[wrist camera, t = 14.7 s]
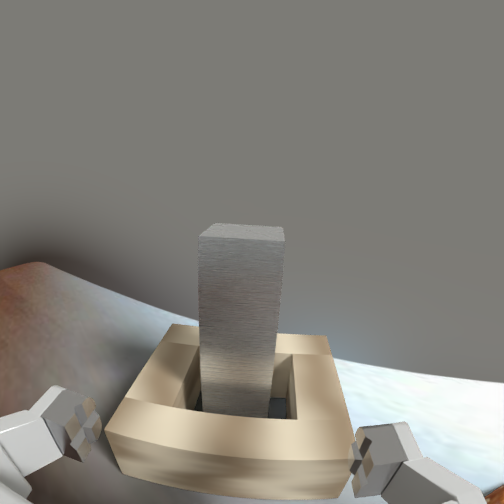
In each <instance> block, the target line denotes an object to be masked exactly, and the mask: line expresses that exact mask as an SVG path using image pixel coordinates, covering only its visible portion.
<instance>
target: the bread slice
mask: <svg viewBox="0 0 504 504" xmlns="http://www.w3.org/2000/svg"><path fill="white" fill-rule="evenodd" d="M484 498H485V500H486V502H487V504H504V485H503V486H501V487H499V488H497V489H496V490H494V491H493V492H492V493H490V494H489V495H487V496H485V497H484Z"/></svg>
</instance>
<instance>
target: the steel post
mask: <svg viewBox="0 0 504 504" xmlns="http://www.w3.org/2000/svg"><path fill="white" fill-rule="evenodd" d="M198 249H199V250H198V251H199V252H198V258H199V259H198V293H199V342H200V369H201V389H202V406H203V412H206V413H214V414H222V415H231V416H241V417H252V418H267V419H268V410H269V402H270V394H271V385H272V376H273V367H274V358H275V349H276V339H277V329H278V318H279V308H280V297H281V286H282V275H283V262H284V250H285V238H284V232H283V227H270V226H254V225H238V224H221V223H214V224H213V225H212V226H210V227H209V228H208V229H207V230H205V231H204V232H203V233H202V234H200V235H199V247H198Z"/></svg>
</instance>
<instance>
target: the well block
mask: <svg viewBox="0 0 504 504" xmlns="http://www.w3.org/2000/svg"><path fill="white" fill-rule="evenodd" d="M200 390H201V391H202V389H201V369H200V342H199V327H196V326H188V325H180V324H172V325H171V326H170V328H169V329H168V331H167V332H166V334H165V335H164V337H163V339H162V340H161V342H160V343H159V345H158V346H157V348H156V349H155V351H154V352H153V354H152V355H151V357H150V358H149V360H148V361H147V363H146V364H145V366H144V368H143V369H142V371H141V372H140V374H139V375H138V377H137V378H136V380H135V381H134V383H133V385H132V386H131V388H130V389H129V391H128V392H127V394H126V396H125V397H124V399H123V400H122V402H121V403H120V405H119V407H118V408H117V410H116V411H115V413H114V414H113V416H112V418H111V419H110V421H109V422H108V424H107V426H106V427H105V429H104V431H105V433H106V436H107V439H108V441H109V444H110V446H111V448H112V451H113V453H114V455H115V458H116V460H117V462H118V465H119V467H120V469H121V471H122V473H123V474H125V475H128V476H131V477H135V478H138V479H142V480H146V481H149V482H153V483H157V484H161V485H166V486H170V487H175V488H180V489H185V490H190V491H196V492H201V493H208V494H215V495H222V496H231V497H241V498H254V499H274V500H310V499H330V498H338V497H339V495H340V493H341V492H342V490H343V488H344V486H345V485H346V483H347V481H348V479H349V477H350V475H351V472H350V471H349V467H348V453H349V449H350V446H351V444H352V443H354V442H355V437H354V433H353V429H352V425H351V422H350V418H349V414H348V410H347V407H346V403H345V399H344V396H343V392H342V388H341V385H340V381H339V378H338V374H337V371H336V367H335V364H334V360H333V357H332V354H331V350H330V347H329V344H328V340H327V337H326V336H320V335H296V334H278V333H277V339H276V349H275V358H274V367H273V376H272V385H271V394H270V397H274V398H286V419H267V418H252V417H241V416H231V415H222V414H214V413H206V412H199V411H194V408H195V405H196V402H197V399H198V396H199V393H200Z"/></svg>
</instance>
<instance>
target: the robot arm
mask: <svg viewBox="0 0 504 504" xmlns="http://www.w3.org/2000/svg"><path fill="white" fill-rule="evenodd" d="M95 407H96V405H95V402H94V399H92V398H90V397H88V396H85V395H82V394H79V393H76V392H73V391H71V390H68V389H65V388H62V387H60V386H57V385H55V386H52V387H51V388H50V389H49V390H48V391H47V392H46V393H45V394H44V395H43V396H42V397H41V398H40V399H39V400H38V401H37V402H36V404H35V405H34V406H33V407H32V408H31V409H30V410H29V411H27V410H23V411H20V412H17V413H14V414H10V415H7V416H4V417H1V418H0V504H33V503H31V502H30V501H28V500H27V499H26V498H27V497H28V495H29V494H30V492H31V491H32V488H31V485H30V484H29V483H28V482H27V481H26V479H25V478H24V477H25V476H27V475H29V474H31V473H32V472H34V471H36V470H38V469H40V468H42V467H44V466H46V465H47V464H49V463H51V462H53V461H55V460H56V459H58V458H60V457H62V456H63V455H64V456H67V457H69V458H72V459H74V460H77V461H80V462H82V463H83V462H84V461H85V459H86V457H87V456H88V454H89V452H90V451H91V446H90V444H91V443H93V442H95V441H97V439H98V438H99V436H100V433H101V429H102V424H101V419H100V416H99V415H98V414H97V413H96V412H95V411H94V409H95ZM355 437H356V441H355V442H354V443H352V444H351V446H350V449H349V453H348V467H349V471H350V472H351V473H352V474H354V475H355V476H354V478H353V480H352V487H353V492H354V497H355V498H359V497H368V496H375V495H381V497H382V498H383V499H384V500H385V501H386V502H387V503H388V504H487V502H486V500H485V498H484V496H483V494H482V492H481V490H480V488H478V487H476V486H475V485H473V484H471V483H470V482H468V481H466V480H464V479H463V478H461V477H459V476H458V475H456V474H454V473H453V472H451V471H449V470H448V469H446V468H444V467H443V466H441V465H440V464H438V463H436V462H435V461H433V460H432V459H430V458H428V457H425V458H423V456H422V453H421V451H420V449H419V447H418V445H417V442H416V440H415V438H414V436H413V434H412V432H411V430H410V427H409V425H408V423H406V422H399V423H391V424H382V425H374V426H363V427H359V428H358V429H357V431H356V434H355Z"/></svg>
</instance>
